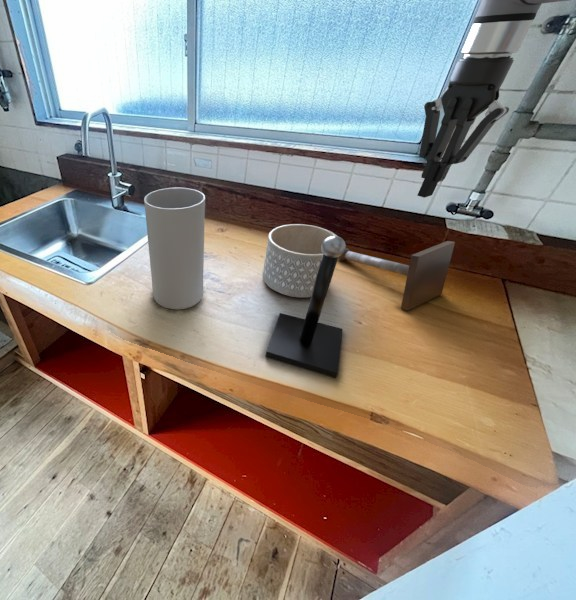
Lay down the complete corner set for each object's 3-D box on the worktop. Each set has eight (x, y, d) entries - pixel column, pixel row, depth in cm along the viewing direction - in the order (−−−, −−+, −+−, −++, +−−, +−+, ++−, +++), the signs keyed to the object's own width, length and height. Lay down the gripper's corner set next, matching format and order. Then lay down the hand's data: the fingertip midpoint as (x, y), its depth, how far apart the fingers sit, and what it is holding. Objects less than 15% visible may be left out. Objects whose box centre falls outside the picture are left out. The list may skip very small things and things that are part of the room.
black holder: (337, 378, 59) (266, 366, 65) (342, 333, 68) (279, 327, 74) (343, 255, 46) (253, 255, 52) (348, 220, 55) (271, 224, 61)
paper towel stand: (441, 295, 77) (469, 247, 70) (406, 311, 73) (432, 262, 65) (352, 251, 95) (367, 209, 88) (320, 262, 91) (332, 219, 83)
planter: (249, 282, 84) (254, 238, 77) (285, 260, 93) (293, 218, 85) (305, 310, 74) (318, 263, 67) (340, 283, 83) (355, 238, 75)
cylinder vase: (212, 299, 79) (217, 200, 64) (168, 317, 74) (162, 214, 59) (185, 276, 88) (184, 184, 72) (144, 291, 83) (134, 195, 68)
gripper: (547, 54, 50) (468, 201, 65) (457, 55, 60) (406, 183, 74) (522, 56, 48) (446, 209, 62) (433, 57, 57) (384, 189, 71)
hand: (424, 195), depth 68 cm, fingers closed
